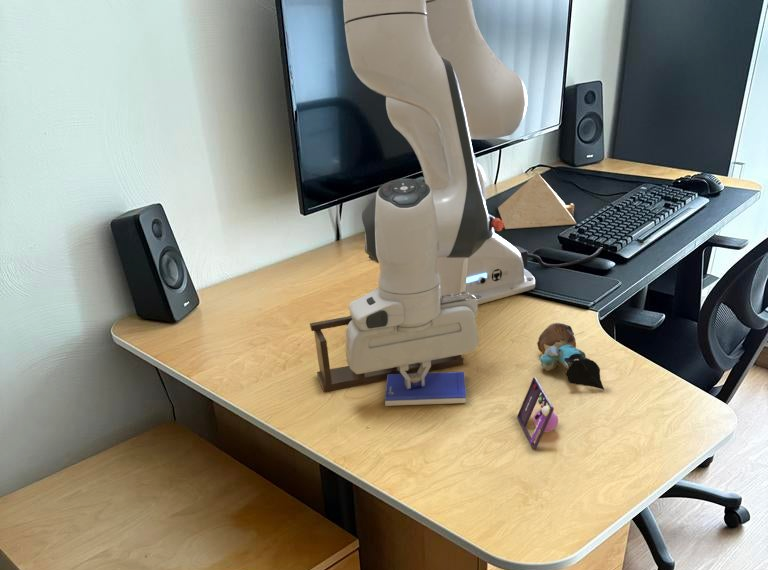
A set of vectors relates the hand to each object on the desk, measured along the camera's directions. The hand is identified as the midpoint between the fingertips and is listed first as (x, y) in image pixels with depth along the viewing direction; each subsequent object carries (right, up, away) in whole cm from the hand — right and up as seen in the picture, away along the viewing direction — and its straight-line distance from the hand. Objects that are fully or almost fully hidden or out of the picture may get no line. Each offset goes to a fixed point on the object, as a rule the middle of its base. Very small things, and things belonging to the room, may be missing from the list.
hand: (414, 386), depth 120 cm
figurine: (+24, +3, +4) cm, 25 cm away
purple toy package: (+18, -8, -10) cm, 22 cm away
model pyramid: (+32, +52, +66) cm, 91 cm away
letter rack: (-4, +4, +8) cm, 10 cm away
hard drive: (+2, -1, +2) cm, 3 cm away
